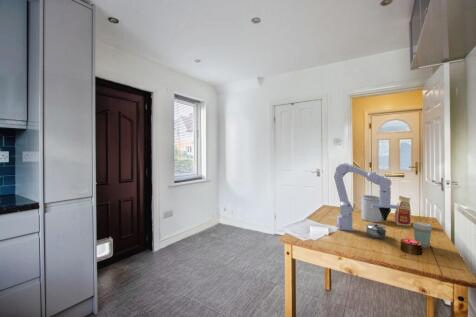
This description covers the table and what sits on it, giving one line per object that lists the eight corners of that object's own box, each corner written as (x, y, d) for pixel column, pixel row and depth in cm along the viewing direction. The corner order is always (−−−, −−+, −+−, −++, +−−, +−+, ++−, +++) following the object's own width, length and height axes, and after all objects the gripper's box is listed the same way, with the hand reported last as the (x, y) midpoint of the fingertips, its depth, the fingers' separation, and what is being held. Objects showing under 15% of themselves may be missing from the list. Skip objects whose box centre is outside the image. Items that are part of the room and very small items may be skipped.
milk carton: (397, 224, 163) (397, 196, 163) (394, 220, 172) (394, 194, 171) (412, 226, 160) (413, 197, 159) (408, 222, 168) (409, 195, 168)
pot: (362, 231, 151) (362, 224, 151) (379, 232, 149) (379, 224, 149) (373, 241, 134) (373, 233, 134) (392, 242, 133) (392, 234, 132)
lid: (363, 224, 149) (363, 221, 149) (381, 225, 147) (381, 222, 147) (373, 233, 134) (373, 230, 133) (393, 234, 132) (393, 230, 132)
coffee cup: (433, 250, 122) (433, 227, 122) (413, 246, 127) (413, 225, 126) (430, 244, 130) (431, 223, 129) (411, 241, 134) (411, 220, 134)
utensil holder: (383, 218, 178) (383, 195, 177) (383, 223, 166) (383, 199, 165) (361, 215, 186) (362, 194, 185) (360, 220, 174) (360, 197, 173)
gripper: (374, 198, 138) (374, 221, 139) (401, 199, 136) (400, 222, 136) (370, 196, 145) (369, 217, 146) (395, 197, 143) (395, 218, 143)
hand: (384, 219), depth 142 cm, fingers closed
